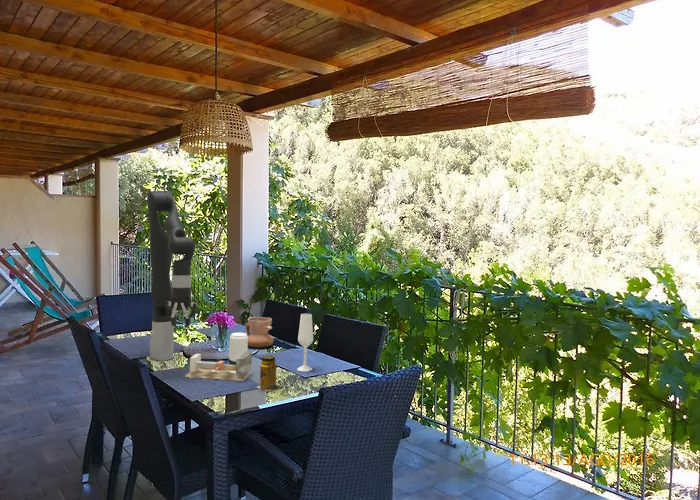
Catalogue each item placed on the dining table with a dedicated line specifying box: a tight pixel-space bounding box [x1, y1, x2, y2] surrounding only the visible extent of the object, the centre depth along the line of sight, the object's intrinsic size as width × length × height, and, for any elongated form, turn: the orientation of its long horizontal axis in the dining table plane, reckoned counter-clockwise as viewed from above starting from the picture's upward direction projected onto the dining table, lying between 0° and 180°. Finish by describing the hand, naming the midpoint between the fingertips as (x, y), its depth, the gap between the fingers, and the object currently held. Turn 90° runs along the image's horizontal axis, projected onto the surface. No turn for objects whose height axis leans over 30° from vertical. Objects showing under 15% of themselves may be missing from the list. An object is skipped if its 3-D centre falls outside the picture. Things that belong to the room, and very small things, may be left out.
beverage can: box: [228, 332, 249, 363], centre depth 249 cm, size 8×8×12 cm
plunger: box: [189, 353, 218, 371], centre depth 225 cm, size 10×7×6 cm
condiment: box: [256, 355, 284, 392], centre depth 212 cm, size 7×8×12 cm
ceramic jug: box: [245, 316, 275, 349], centre depth 276 cm, size 18×14×14 cm
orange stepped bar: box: [215, 360, 225, 371], centre depth 223 cm, size 2×8×3 cm, turn 175°
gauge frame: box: [184, 351, 253, 382], centre depth 225 cm, size 24×12×9 cm, turn 85°
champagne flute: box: [296, 313, 314, 372], centre depth 237 cm, size 7×7×24 cm
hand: (180, 326), depth 225 cm, fingers open, 4 cm apart
